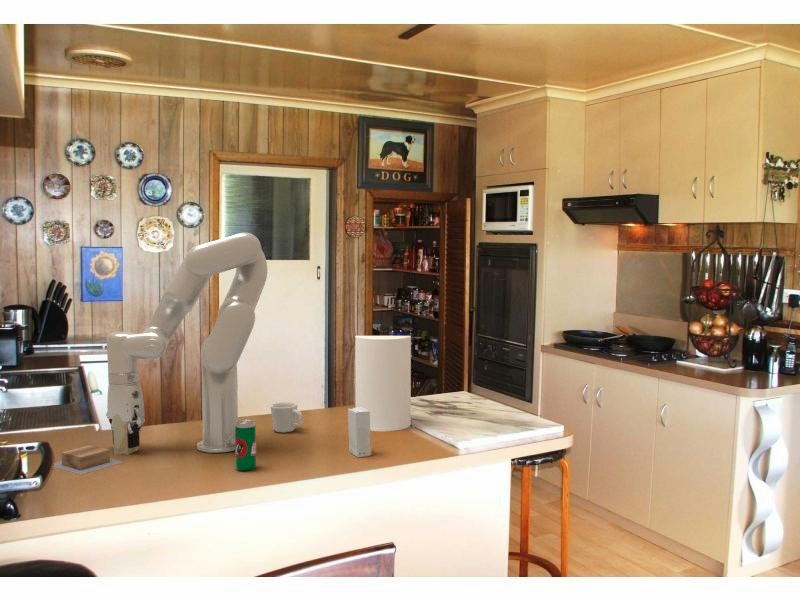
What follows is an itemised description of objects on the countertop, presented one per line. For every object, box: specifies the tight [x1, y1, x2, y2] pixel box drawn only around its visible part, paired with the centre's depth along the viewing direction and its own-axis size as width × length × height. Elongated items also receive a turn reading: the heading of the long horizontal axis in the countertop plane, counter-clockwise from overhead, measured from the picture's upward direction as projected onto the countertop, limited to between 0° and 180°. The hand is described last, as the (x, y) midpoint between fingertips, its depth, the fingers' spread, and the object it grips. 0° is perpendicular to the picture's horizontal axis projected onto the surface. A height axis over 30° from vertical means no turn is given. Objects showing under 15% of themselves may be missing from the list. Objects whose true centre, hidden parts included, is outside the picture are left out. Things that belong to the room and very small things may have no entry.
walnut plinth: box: [60, 444, 111, 470], centre depth 178 cm, size 8×8×3 cm
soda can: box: [234, 419, 257, 472], centre depth 176 cm, size 5×5×12 cm
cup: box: [270, 401, 303, 434], centre depth 212 cm, size 11×8×8 cm
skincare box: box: [347, 407, 372, 458], centre depth 189 cm, size 6×4×12 cm
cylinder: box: [354, 335, 412, 432], centre depth 220 cm, size 17×17×28 cm
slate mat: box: [53, 458, 124, 475], centre depth 178 cm, size 14×12×1 cm
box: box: [112, 415, 139, 456], centre depth 188 cm, size 5×4×11 cm
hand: (126, 444), depth 189 cm, fingers closed on box, 5 cm apart
